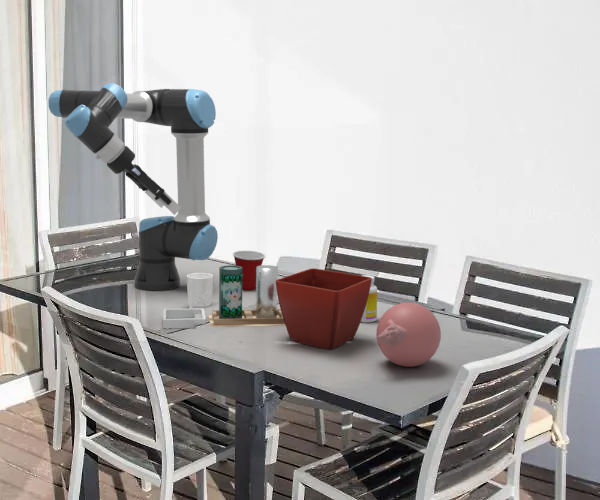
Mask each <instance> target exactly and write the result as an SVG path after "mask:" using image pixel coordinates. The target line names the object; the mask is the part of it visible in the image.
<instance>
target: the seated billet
mask: <svg viewBox="0 0 600 500" xmlns="http://www.w3.org/2000/svg"><path fill="white" fill-rule="evenodd" d="M278 275H279V267H278V266H276V265H271V264H269V265H268V264H267V265H266V264H265V265H263V264H262V265H261V266H257V267H256V290H255V310H256V318H277V309H278V295H277V289H276V280H277V279H279V276H278Z"/></svg>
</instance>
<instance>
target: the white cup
mask: <svg viewBox="0 0 600 500" xmlns="http://www.w3.org/2000/svg"><path fill="white" fill-rule="evenodd" d="M213 285H214V275H213V274H212V273H208V272H195V273H194V272H193V273H192V272H191V273H189V274H186V286H187V288H186V291H187V292H186V293H187V301H188V303H187V304H188V309H195V308H204V307H210V306H211V305H212V300H213V290H214V289H213ZM194 307H195V308H194Z"/></svg>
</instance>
